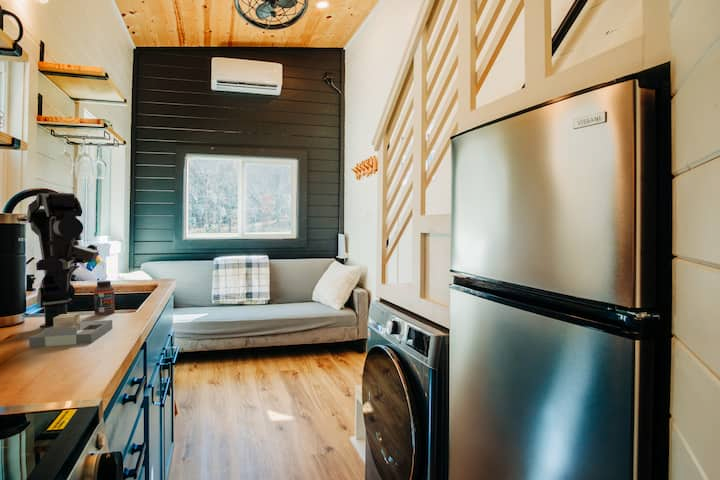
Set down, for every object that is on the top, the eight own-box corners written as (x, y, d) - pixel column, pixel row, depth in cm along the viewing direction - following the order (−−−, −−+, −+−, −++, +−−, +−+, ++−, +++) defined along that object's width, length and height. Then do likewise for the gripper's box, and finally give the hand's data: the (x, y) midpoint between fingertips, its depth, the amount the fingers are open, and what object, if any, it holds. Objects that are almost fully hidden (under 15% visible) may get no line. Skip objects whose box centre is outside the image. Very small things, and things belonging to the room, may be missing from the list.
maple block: (61, 330, 114) (60, 314, 114) (80, 329, 115) (79, 313, 115) (54, 334, 110) (53, 317, 110) (73, 333, 111) (72, 316, 111)
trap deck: (58, 331, 123) (58, 316, 123) (112, 328, 126) (111, 313, 126) (29, 347, 107) (28, 330, 107) (91, 343, 110) (90, 326, 110)
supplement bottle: (105, 315, 144) (104, 282, 143) (90, 315, 145) (89, 282, 144) (118, 312, 149) (117, 280, 149) (104, 311, 151) (102, 279, 150)
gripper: (82, 238, 114) (84, 296, 115) (105, 235, 132) (106, 285, 133) (33, 239, 111) (36, 298, 112) (64, 235, 129) (66, 286, 130)
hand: (64, 291), depth 122 cm, fingers closed
